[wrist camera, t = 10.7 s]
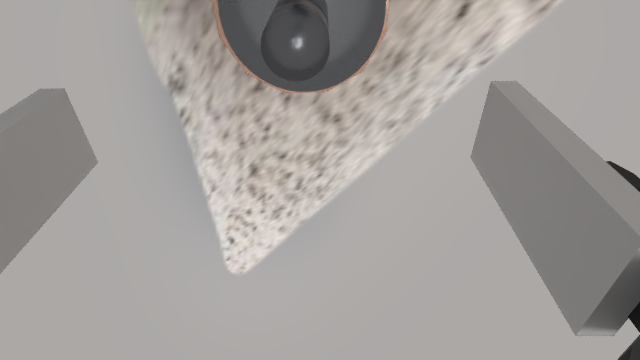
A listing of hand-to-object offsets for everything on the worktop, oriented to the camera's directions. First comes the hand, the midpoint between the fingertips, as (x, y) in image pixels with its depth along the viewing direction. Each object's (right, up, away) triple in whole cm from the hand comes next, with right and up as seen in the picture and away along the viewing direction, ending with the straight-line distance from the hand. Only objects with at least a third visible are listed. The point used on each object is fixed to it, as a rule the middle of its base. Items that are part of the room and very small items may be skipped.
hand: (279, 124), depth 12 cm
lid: (0, +10, +14) cm, 18 cm away
